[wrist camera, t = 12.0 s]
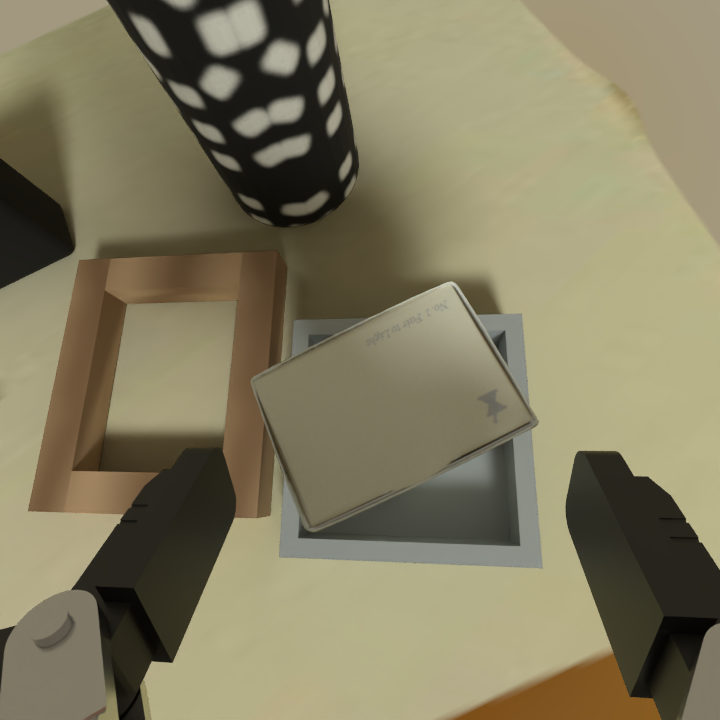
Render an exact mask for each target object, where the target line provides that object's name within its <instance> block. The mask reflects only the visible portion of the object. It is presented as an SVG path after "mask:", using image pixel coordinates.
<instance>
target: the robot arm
mask: <svg viewBox="0 0 720 720" xmlns="http://www.w3.org/2000/svg"><path fill="white" fill-rule="evenodd" d="M131 505H132V506H131V508H128V510H127V511H126V513H125V514H124V515H123V517H122V518H121V522H120V524H117V526H116V527H115V528H114V530H113V531H112V533H111V534H110V536H109V537H108V538H107V540H106V541H105V543H104V544H103V546H102V547H101V548H100V550H99V551H98V553H97V554H96V556H95V557H94V558H93V560H92V561H91V563H90V564H89V566H88V567H87V569H86V570H85V571H84V573H83V574H82V576H81V577H80V579H79V580H78V581H77V583H76V584H75V586H74V587H73V588H72V589H71V590H70V591H65V592H62V593H59V594H56V595H54V596H52V597H50V598H48V599H46V600H44V601H43V602H41V603H40V604H38V605H37V606H35V607H34V608H33V609H32V610H30V611H29V612H28V613H27V614H26V615H25V616H24V617H23V618H22V619H21V620H20V621H19V622H18V624H17V625H16V626H13V627H9V628H5V629H1V630H0V720H152V719H151V713H150V707H149V701H148V695H147V689H146V685H145V682H144V680H143V679H144V677H145V674H146V672H147V670H148V668H149V666H150V664H151V662H152V661H155V662H170V663H173V660H174V658H175V656H176V653H177V651H178V649H179V646H180V644H181V642H182V639H183V637H184V635H185V632H186V630H187V628H188V625H189V623H190V621H191V618H192V616H193V614H194V611H195V609H196V607H197V604H198V602H199V600H200V597H201V595H202V593H203V590H204V588H205V585H206V583H207V581H208V578H209V576H210V574H211V571H212V569H213V567H214V564H215V562H216V560H217V557H218V555H219V553H220V550H221V548H222V546H223V543H224V541H225V539H226V536H227V534H228V532H229V529H230V527H231V525H232V522H233V520H234V516H235V511H236V494H235V490H234V487H233V484H232V480H231V477H230V473H229V470H228V467H227V463H226V460H225V456H224V453H223V451H222V450H221V449H220V448H186V449H185V450H184V451H183V452H182V454H181V455H180V457H179V458H178V460H177V461H176V463H175V464H174V466H173V467H172V469H164V470H163V471H161V472H160V473H159V474H158V475H157V476H155V477H154V478H153V479H152V480H150V481H149V482H148V483H147V484H146V485H144V487H143V488H142V490H141V491H140V493H139V494H138V495H137V497H136V498H135V500H134V501H133V503H132V504H131ZM566 519H567V525H568V529H569V532H570V535H571V538H572V540H573V543H574V546H575V549H576V551H577V554H578V557H579V559H580V562H581V565H582V568H583V570H584V573H585V576H586V579H587V581H588V584H589V587H590V589H591V592H592V595H593V598H594V600H595V603H596V606H597V609H598V611H599V614H600V617H601V620H602V622H603V625H604V628H605V630H606V633H607V636H608V639H609V641H610V644H611V647H612V650H613V652H614V655H615V658H616V660H617V663H618V666H619V669H620V671H621V674H622V677H623V680H624V682H625V685H626V688H627V691H628V693H629V696H630V697H640V698H653V699H654V702H655V704H656V707H657V709H658V712H659V714H660V717H661V720H720V570H719V568H718V567H717V565H716V564H715V562H714V560H713V559H712V557H711V556H710V554H709V553H708V551H707V550H706V548H705V547H704V545H703V544H702V543H700V542H699V540H698V536H697V535H696V533H695V532H694V530H693V529H692V527H691V526H690V524H689V523H686V518H685V516H684V515H683V513H682V512H681V510H680V509H679V507H678V506H677V504H676V503H675V501H674V500H673V498H672V497H671V495H669V494H668V493H667V492H666V491H664V490H663V489H662V488H661V487H660V486H658V485H657V484H656V483H655V482H654V481H652V480H651V479H650V478H649V477H640V476H633V474H632V472H631V471H630V469H629V467H628V466H627V464H626V462H625V460H624V459H623V457H622V456H621V454H620V453H618V452H617V451H578V452H577V454H576V456H575V459H574V464H573V469H572V474H571V479H570V484H569V489H568V494H567V499H566Z"/></svg>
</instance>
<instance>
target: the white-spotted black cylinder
mask: <svg viewBox="0 0 720 720" xmlns="http://www.w3.org/2000/svg"><path fill="white" fill-rule="evenodd" d="M107 2H108V3H109V5H110V6H111V8H112V9H113V11H114V13H115V14H116V16H117V17H118V19H119V20H120V22H121V23H122V25H123V26H124V28H125V29H126V31H127V33H128V34H129V36H130V37H131V39H132V40H133V42H134V43H135V45H136V46H137V48H138V50H139V51H140V53H141V54H142V56H143V57H144V59H145V60H146V62H147V63H148V65H149V67H150V68H151V70H152V71H153V73H154V74H155V76H156V77H157V79H158V80H159V82H160V83H161V85H162V87H163V88H164V90H165V91H166V93H167V94H168V96H169V97H170V99H171V100H172V102H173V104H174V105H175V107H176V108H177V110H178V111H179V113H180V114H181V116H182V117H183V119H184V121H185V122H186V124H187V125H188V127H189V128H190V130H191V131H192V133H193V134H194V136H195V138H196V139H197V141H198V142H199V144H200V145H201V147H202V148H203V150H204V151H205V153H206V154H207V156H208V158H209V159H210V161H211V162H212V164H213V165H214V167H215V168H216V170H217V171H218V173H219V175H220V176H221V178H222V179H223V181H224V182H225V184H226V185H227V187H228V188H229V190H230V192H231V193H232V195H233V196H234V198H235V199H236V201H237V202H238V204H239V205H240V206H241V208H242V209H243V210H244V211H245V212H246V213H247V214H248V215H250V216H251V217H252V218H254V219H256V220H258V221H260V222H262V223H265V224H268V225H272V226H279V227H293V226H301V225H305V224H308V223H312V222H314V221H316V220H318V219H321V218H323V217H325V216H326V215H328V214H329V213H331V212H332V211H333V210H335V209H336V208H337V207H338V206H339V205H340V204H341V203H342V202H343V201H344V200H345V199H346V197H347V196H348V194H349V193H350V191H351V190H352V188H353V186H354V183H355V181H356V179H357V174H358V168H359V159H358V151H357V146H356V141H355V136H354V130H353V125H352V120H351V115H350V109H349V104H348V99H347V94H346V88H345V83H344V78H343V73H342V67H341V62H340V57H339V52H338V46H337V41H336V36H335V31H334V25H333V20H332V15H331V10H330V4H329V0H107Z"/></svg>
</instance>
